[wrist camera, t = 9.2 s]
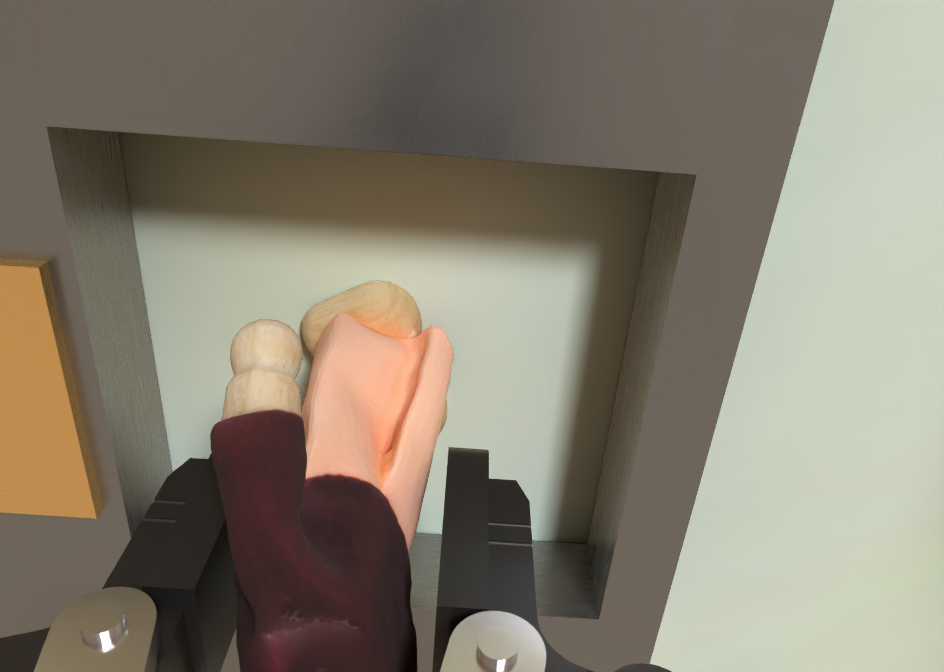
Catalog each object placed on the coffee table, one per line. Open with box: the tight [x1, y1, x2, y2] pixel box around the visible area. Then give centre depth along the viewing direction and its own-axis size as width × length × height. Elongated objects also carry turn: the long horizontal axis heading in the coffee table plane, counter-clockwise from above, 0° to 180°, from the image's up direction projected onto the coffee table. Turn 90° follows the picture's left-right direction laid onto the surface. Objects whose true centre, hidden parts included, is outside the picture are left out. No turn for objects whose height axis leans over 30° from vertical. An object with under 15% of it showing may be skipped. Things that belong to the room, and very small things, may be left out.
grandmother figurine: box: [210, 281, 454, 672], centre depth 12 cm, size 8×4×13 cm, turn 22°
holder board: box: [0, 0, 834, 672], centre depth 16 cm, size 17×16×3 cm
